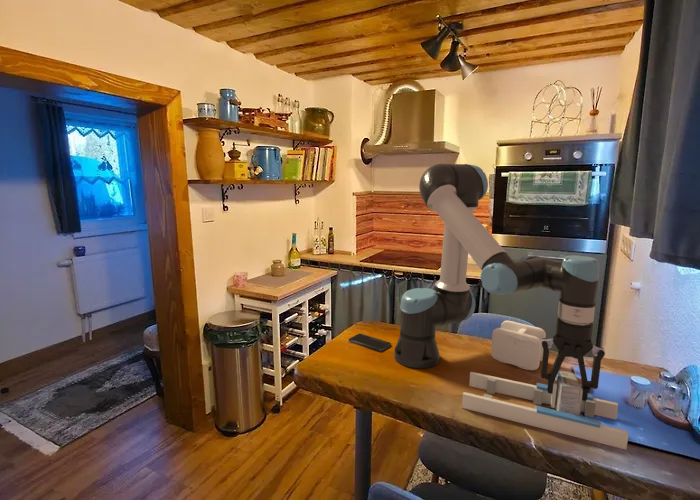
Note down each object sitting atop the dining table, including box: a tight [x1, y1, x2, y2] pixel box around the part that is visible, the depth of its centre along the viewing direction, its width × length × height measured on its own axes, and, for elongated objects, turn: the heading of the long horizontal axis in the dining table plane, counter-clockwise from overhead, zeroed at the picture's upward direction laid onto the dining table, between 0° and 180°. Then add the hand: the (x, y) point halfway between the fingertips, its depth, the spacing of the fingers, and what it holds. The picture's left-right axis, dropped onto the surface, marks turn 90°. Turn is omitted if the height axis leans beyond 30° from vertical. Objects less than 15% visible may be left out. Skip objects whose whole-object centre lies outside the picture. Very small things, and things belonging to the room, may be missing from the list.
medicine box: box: [554, 370, 582, 416], centre depth 95 cm, size 8×4×9 cm, turn 161°
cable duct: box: [461, 371, 629, 451], centre depth 98 cm, size 36×14×5 cm, turn 64°
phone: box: [348, 333, 392, 353], centre depth 141 cm, size 8×1×15 cm
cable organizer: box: [490, 320, 547, 371], centre depth 126 cm, size 15×11×12 cm
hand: (565, 407), depth 96 cm, fingers closed on medicine box, 5 cm apart
